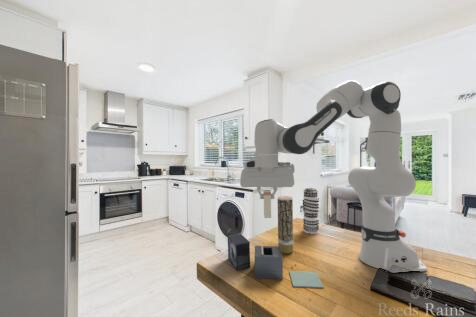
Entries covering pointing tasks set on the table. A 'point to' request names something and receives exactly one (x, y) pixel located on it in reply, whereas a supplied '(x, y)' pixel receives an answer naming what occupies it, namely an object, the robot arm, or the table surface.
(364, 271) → the table surface
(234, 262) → the small box
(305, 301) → the table surface
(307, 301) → the table surface
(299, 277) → the mat
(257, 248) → the dispenser
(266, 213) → the white block
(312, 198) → the black white cylinder
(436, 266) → the table surface
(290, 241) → the paper tube
